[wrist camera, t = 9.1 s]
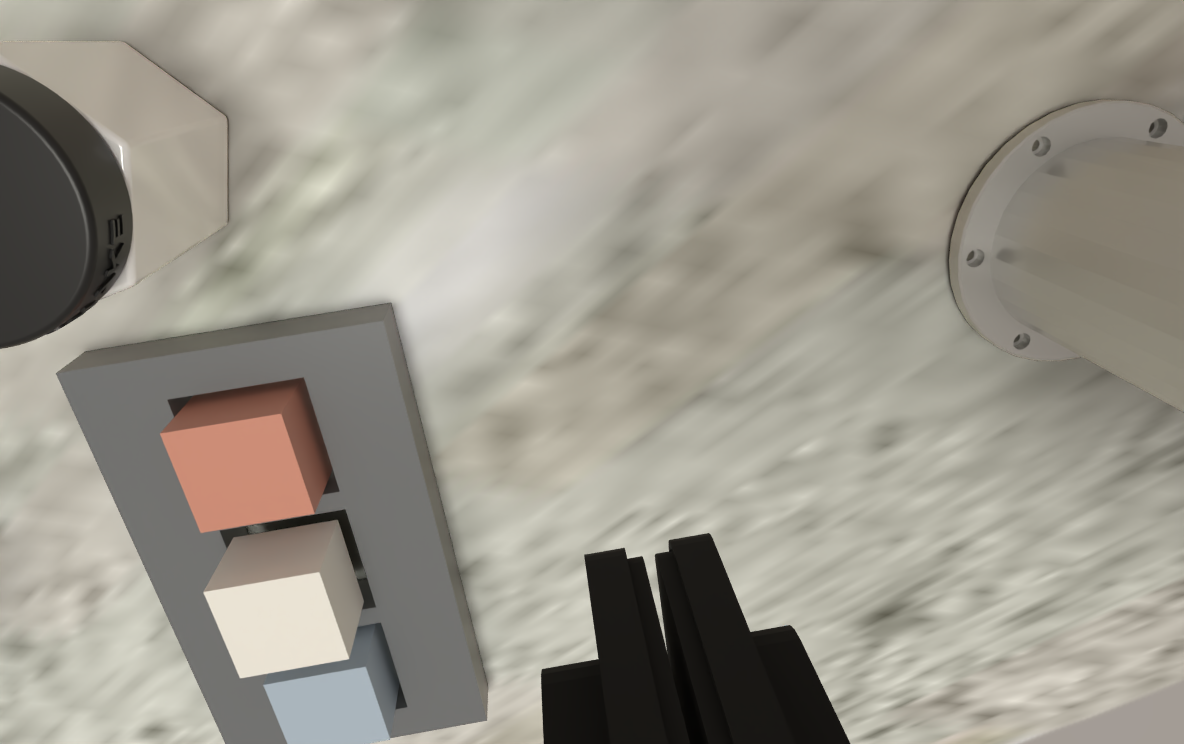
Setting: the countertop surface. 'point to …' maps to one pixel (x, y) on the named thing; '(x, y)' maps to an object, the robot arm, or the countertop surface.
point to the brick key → (249, 454)
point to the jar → (97, 178)
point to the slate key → (339, 695)
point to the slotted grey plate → (357, 484)
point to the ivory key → (286, 599)
